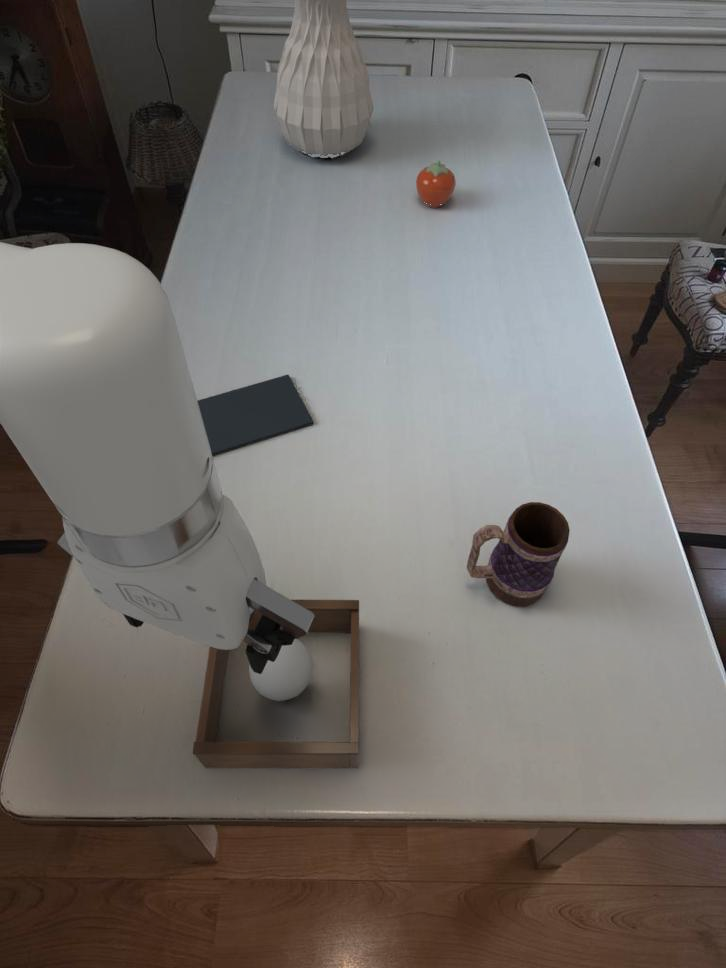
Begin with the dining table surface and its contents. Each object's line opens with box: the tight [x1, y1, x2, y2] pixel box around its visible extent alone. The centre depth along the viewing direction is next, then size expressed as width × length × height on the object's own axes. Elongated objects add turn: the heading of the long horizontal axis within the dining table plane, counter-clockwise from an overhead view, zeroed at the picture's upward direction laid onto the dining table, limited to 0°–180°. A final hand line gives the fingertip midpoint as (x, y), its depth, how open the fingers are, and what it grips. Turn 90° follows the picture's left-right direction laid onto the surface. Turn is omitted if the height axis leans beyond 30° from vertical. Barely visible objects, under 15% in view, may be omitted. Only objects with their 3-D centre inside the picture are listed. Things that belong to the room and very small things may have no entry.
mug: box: [466, 501, 571, 607], centre depth 68 cm, size 10×7×12 cm
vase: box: [273, 0, 374, 158], centre depth 120 cm, size 20×20×30 cm
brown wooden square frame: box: [191, 599, 360, 769], centre depth 62 cm, size 15×15×6 cm
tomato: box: [415, 159, 457, 209], centre depth 117 cm, size 7×7×8 cm
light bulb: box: [248, 639, 314, 703], centre depth 60 cm, size 6×6×10 cm
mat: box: [197, 374, 315, 457], centre depth 86 cm, size 16×10×1 cm, turn 114°
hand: (205, 630), depth 45 cm, fingers open, 9 cm apart
